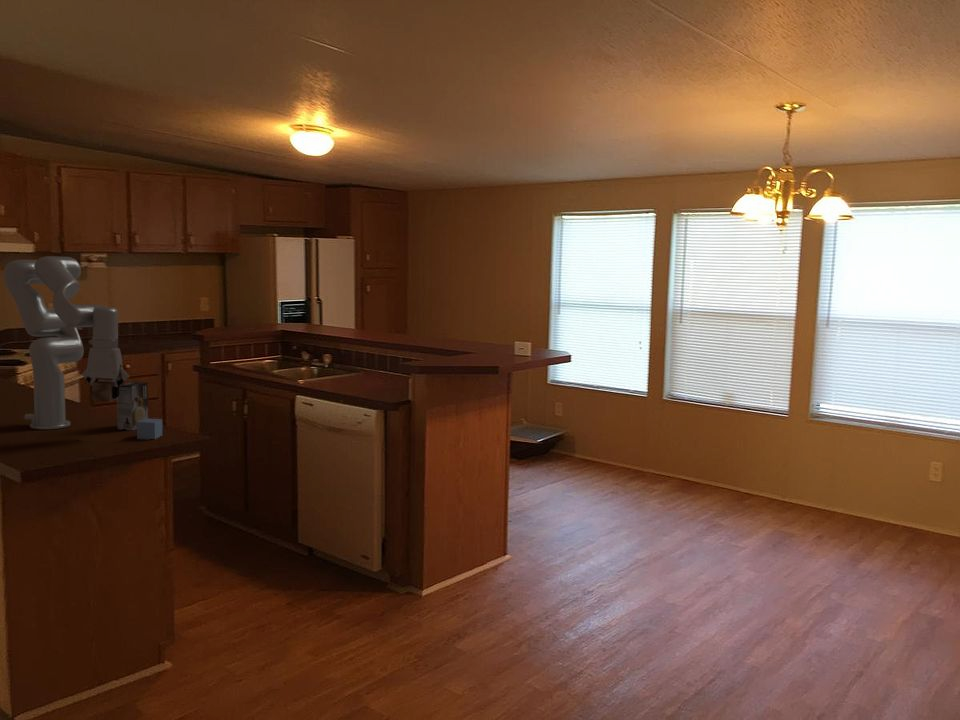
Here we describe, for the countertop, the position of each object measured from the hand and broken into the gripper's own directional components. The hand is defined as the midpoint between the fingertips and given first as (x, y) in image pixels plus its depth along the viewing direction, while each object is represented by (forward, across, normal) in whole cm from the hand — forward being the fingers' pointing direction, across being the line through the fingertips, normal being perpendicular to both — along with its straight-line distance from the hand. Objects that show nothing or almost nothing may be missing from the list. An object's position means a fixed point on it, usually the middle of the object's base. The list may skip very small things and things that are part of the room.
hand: (105, 396), depth 257 cm
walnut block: (+1, 0, 0) cm, 1 cm away
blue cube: (+14, +14, +2) cm, 20 cm away
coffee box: (+14, +2, +16) cm, 22 cm away
